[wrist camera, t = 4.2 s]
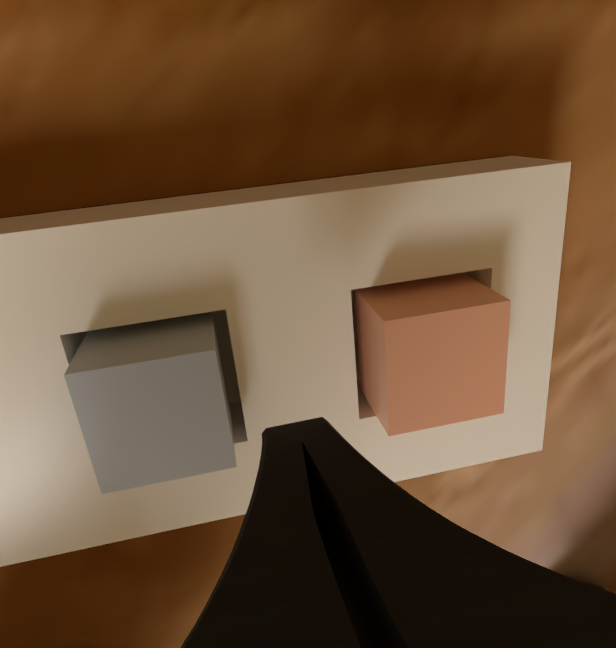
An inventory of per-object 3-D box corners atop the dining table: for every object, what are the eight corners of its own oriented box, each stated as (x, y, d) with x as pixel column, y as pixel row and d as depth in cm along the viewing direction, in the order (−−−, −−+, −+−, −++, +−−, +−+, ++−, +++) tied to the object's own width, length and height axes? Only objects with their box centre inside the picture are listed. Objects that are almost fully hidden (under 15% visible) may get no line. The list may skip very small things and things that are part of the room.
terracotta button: (459, 371, 18) (503, 413, 15) (360, 389, 17) (388, 436, 15) (462, 272, 16) (511, 300, 14) (354, 289, 16) (384, 321, 13)
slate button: (231, 413, 17) (236, 467, 14) (117, 435, 16) (101, 494, 13) (212, 311, 15) (215, 349, 13) (87, 331, 15) (63, 374, 12)
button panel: (497, 407, 21) (542, 450, 18) (-173, 541, 17) (-242, 618, 15) (512, 155, 17) (571, 161, 14) (-344, 260, 14) (-480, 295, 11)
